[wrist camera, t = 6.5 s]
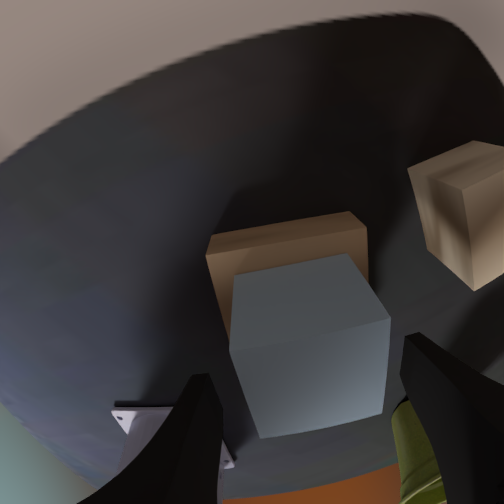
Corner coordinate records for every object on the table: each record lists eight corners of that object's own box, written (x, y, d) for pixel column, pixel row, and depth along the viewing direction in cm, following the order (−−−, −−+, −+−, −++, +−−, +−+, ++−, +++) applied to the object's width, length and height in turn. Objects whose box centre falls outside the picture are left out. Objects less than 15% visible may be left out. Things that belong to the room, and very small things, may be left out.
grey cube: (352, 340, 15) (381, 413, 11) (256, 359, 16) (260, 438, 11) (347, 252, 14) (390, 317, 9) (234, 275, 14) (229, 351, 9)
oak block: (352, 319, 19) (367, 350, 16) (239, 339, 19) (238, 373, 16) (347, 208, 16) (366, 227, 13) (212, 232, 16) (205, 255, 14)
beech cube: (487, 217, 16) (539, 248, 11) (426, 249, 16) (474, 291, 12) (472, 140, 14) (533, 154, 9) (406, 168, 15) (461, 190, 10)
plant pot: (448, 422, 24) (479, 486, 16) (364, 447, 24) (385, 523, 16) (480, 355, 20) (530, 427, 12) (382, 382, 20) (421, 479, 12)
